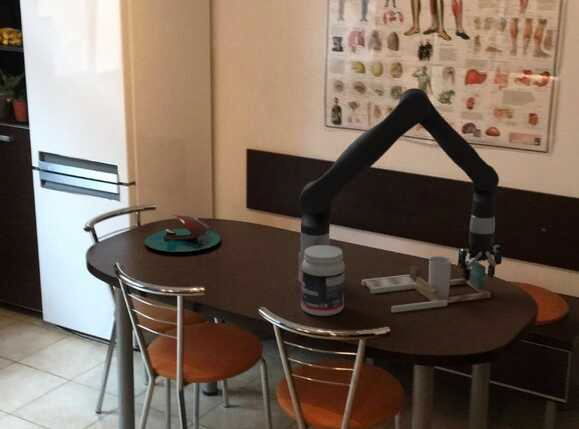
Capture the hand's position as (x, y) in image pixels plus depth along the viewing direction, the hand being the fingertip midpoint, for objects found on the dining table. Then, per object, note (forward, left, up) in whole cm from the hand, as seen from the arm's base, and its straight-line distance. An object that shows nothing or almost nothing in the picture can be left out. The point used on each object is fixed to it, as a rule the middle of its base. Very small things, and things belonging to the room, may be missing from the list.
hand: (478, 278), depth 255 cm
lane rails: (-24, +4, -4) cm, 25 cm away
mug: (-13, 0, -4) cm, 14 cm away
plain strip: (-24, +12, -4) cm, 27 cm away
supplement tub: (-52, 0, -4) cm, 52 cm away
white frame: (-10, 0, -4) cm, 11 cm away
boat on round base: (-81, +74, -4) cm, 110 cm away
